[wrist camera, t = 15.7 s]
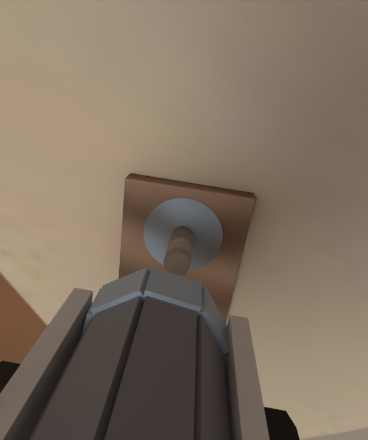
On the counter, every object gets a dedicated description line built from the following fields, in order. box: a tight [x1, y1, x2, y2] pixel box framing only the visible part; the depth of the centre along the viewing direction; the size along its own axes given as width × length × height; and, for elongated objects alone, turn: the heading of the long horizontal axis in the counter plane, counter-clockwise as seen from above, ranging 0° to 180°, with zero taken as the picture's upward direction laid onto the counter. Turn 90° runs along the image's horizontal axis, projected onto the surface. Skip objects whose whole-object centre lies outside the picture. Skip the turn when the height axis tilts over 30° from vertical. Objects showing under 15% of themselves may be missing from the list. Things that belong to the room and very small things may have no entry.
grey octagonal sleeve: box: [29, 267, 231, 440], centre depth 10 cm, size 6×6×7 cm
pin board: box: [119, 173, 255, 322], centre depth 25 cm, size 18×10×7 cm, turn 172°
